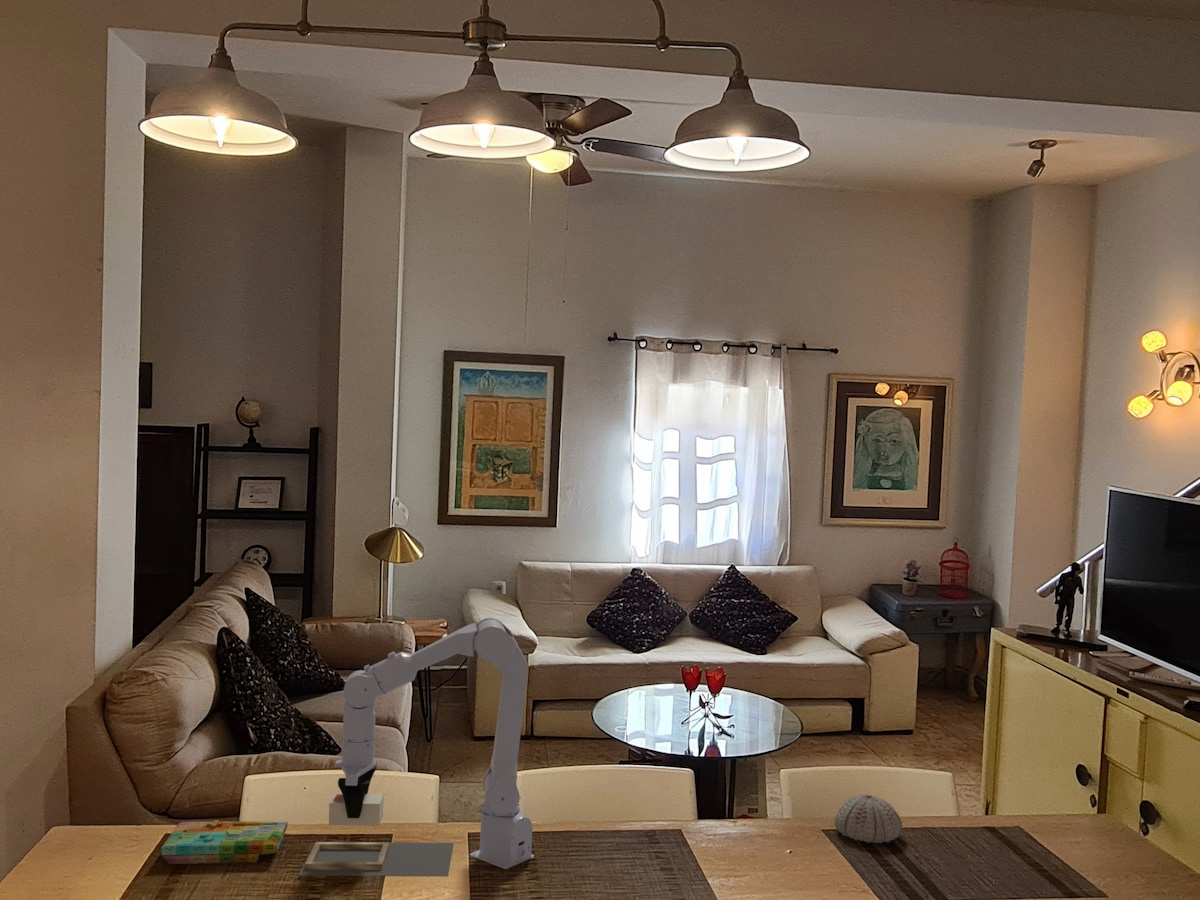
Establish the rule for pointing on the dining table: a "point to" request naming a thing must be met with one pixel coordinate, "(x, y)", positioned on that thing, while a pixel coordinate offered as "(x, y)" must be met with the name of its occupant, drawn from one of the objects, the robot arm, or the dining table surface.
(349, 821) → the card box
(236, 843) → the puzzle game
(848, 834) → the sea urchin shell
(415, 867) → the mat
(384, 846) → the frame
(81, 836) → the dining table surface
